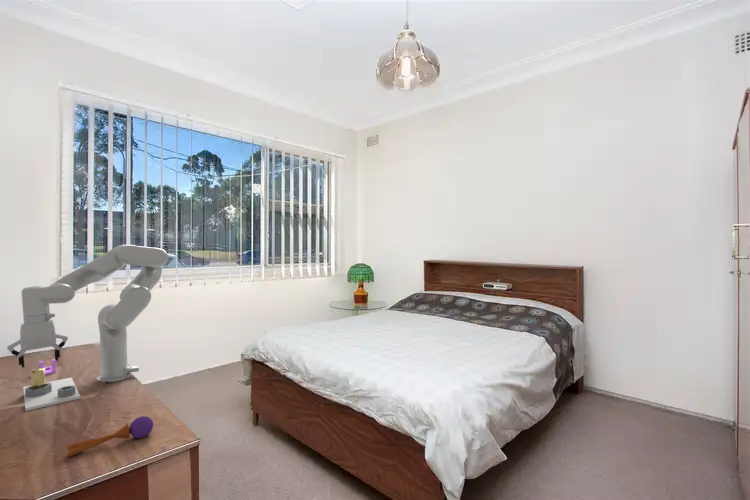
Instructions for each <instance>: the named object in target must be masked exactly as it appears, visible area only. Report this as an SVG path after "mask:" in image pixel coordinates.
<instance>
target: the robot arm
mask: <svg viewBox="0 0 750 500" xmlns="http://www.w3.org/2000/svg"><path fill="white" fill-rule="evenodd" d="M168 262H169V254H168V253H167V251H166V250H165V249H162V248H159V247H149V246H140V245H134V244H120V245H117V246H115V247H113V248H112V249H110V250H109V251H107V252H105V253H103V254H101V255H100V256H99V257H97V258H95V259H94V260H91V261H90V262H88V263H86V264H85V265H82V266H81V267H79V268H77V269H76V270H73V271H72V272H70V273H68V274H66V275H65V276H63V277H61V278H60V279H58V280H56V281H55V282H53V283H52V284H50V285H49V286H45V285H35V286H34V285H33V286H27V287H23V288H22V290H21V299H22V300H21V304H22V305H21V306H22V317H23V323H22V324H21V325H20V329H19V330H20V331H19V339H18V340H17V341H15V342H13V343H11V344H10V345H8V346H6V347H7V348H6V349H7V350H8V351H9V352H10V354H12V355H13V356H15V357H16V358H18V365H19V366H21V368H24V367H25V356H24V354H25V353H26V352H27V351H28V352H29V351H34V350H35V351H36V350H39V349H40V350H41V349H47V348H54V359H55V360H56V362H57V361H59V358H61V353H60V351H61V349H62V348H63V347H64V346H65V345H66V343H67V340H68V339H69V337H68V336H66V335H62V334H57V333H56V328H55V325H54V324H55V323H54V320H53V319H52V318H56V316H55V315H56V314H55V313H51V312H50V311H51V310H50V304H66V303H69V302H71V300H73V299H74V297H75V296H76V292H77V291H78V290H81V289H83V288H85V287H86V286H88V285H91V284H93V283H96V282H100V281H102V280H105V279H106V278H107V277H109V276H111V275H112V274H114V273H115V272H117V271H119V270H120V269H122V268H124V266H126V265H129V266H138V267H140V266H141V269H140V271H139V273H137V275H136V276H135V278H133V279H132V280H131V281H130V282H129V284H127V286H125V287H124V288H123V289H122V290H121V292H120V293H119V302H117V304H113V303H111V304H108V305H107V304H106V305H105V306H103V308H101V309H100V310H99V313H98V315H97V322H98V323H97V324H98V331H99V358H100V359H99V360H100V361H99V362H100V363H99V364H100V375H98V376H97V377H96V381H98V382H104V383H106V384H107V383H116V382H120V381H123V380H126V379H128V378H130V377H131V376H132V375H133V373H137V372H139V371H140V367H139V366H138V365H137V366H135V365H134V366H131V365H130V363H128V335H127V334H128V333H127V332H128V331H127V327H129V326H130V325H131V324H132V323H133V322H134V321H135V320H136V318H138V316H139V315H141V313H143V311H144V310H145V309H146V308H147V307H148V305H149V304H150V302H151V300H152V293H151V291H152V290H153V289H154V288H155V286H156V285H157V284H158V283H159V281H160V280H161V277H162V271H163V270H162V268H163V266H165V265H166V264H167V263H168ZM57 339H60V340H61V342H60V343H59V344H58V343H57ZM19 345H20V350H19V351H17V350H16V349H15V348H16V347H17V346H19ZM130 373H131V374H132V375H131V374H130Z"/></svg>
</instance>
